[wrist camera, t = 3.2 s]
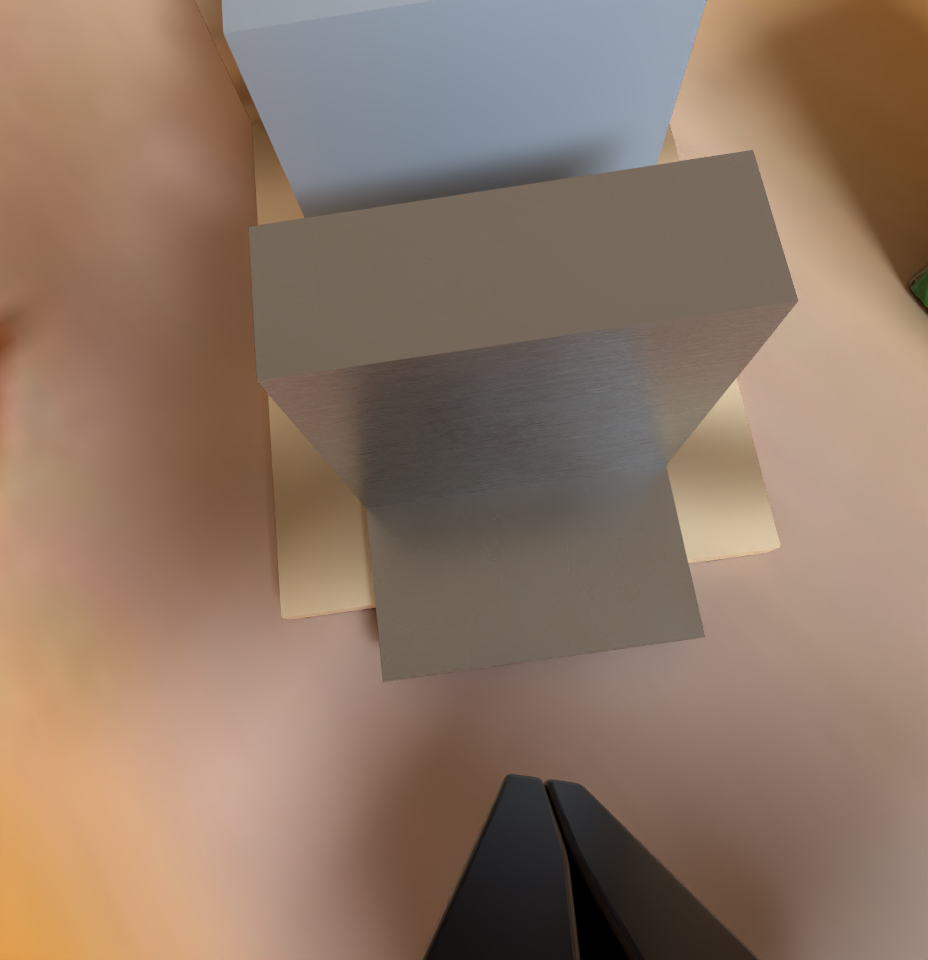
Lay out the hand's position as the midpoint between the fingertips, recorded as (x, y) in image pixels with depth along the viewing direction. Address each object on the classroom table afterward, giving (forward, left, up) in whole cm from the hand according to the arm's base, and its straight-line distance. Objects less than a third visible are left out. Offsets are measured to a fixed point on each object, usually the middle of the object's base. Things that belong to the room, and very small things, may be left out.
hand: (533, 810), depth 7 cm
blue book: (+14, -1, -12) cm, 19 cm away
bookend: (+6, -1, -12) cm, 13 cm away
